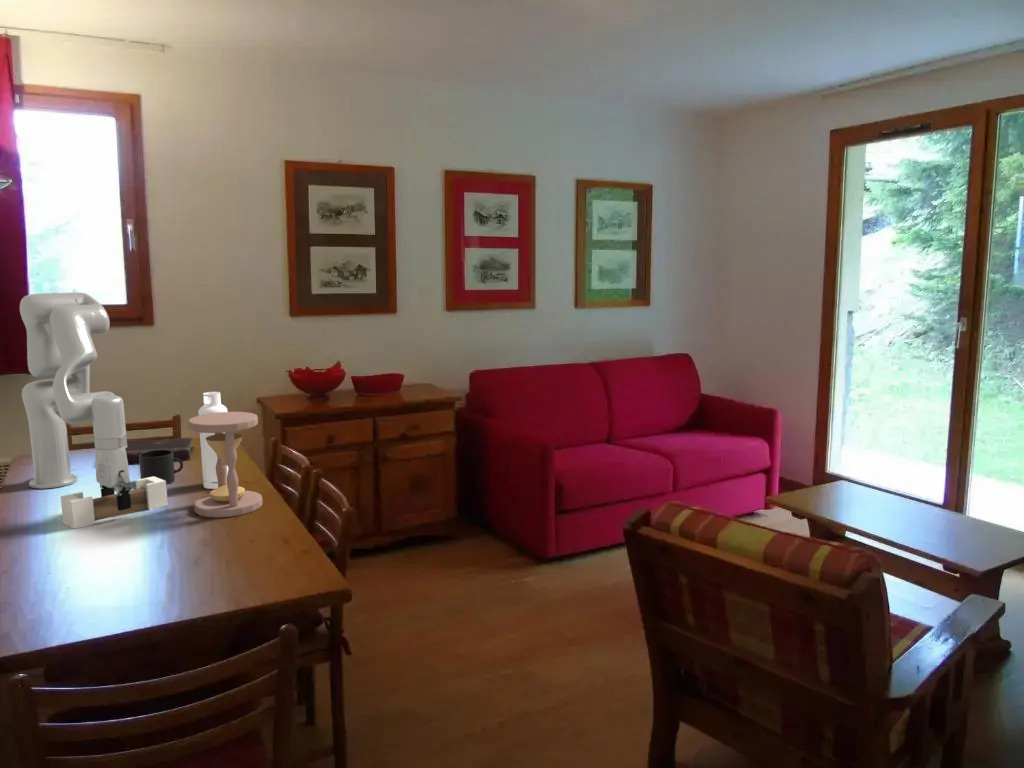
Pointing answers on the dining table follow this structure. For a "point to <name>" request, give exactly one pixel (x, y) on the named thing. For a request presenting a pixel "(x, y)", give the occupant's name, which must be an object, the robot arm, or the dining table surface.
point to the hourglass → (225, 464)
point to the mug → (159, 465)
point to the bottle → (206, 451)
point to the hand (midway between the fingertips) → (116, 505)
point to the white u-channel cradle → (82, 510)
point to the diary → (159, 448)
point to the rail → (109, 508)
